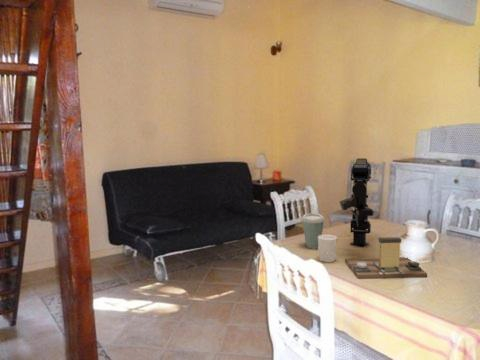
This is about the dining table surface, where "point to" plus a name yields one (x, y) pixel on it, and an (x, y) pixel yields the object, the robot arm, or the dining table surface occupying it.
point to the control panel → (377, 272)
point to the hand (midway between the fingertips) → (359, 227)
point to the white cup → (327, 247)
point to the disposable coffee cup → (312, 228)
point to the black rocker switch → (413, 263)
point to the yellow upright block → (389, 253)
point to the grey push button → (362, 265)
